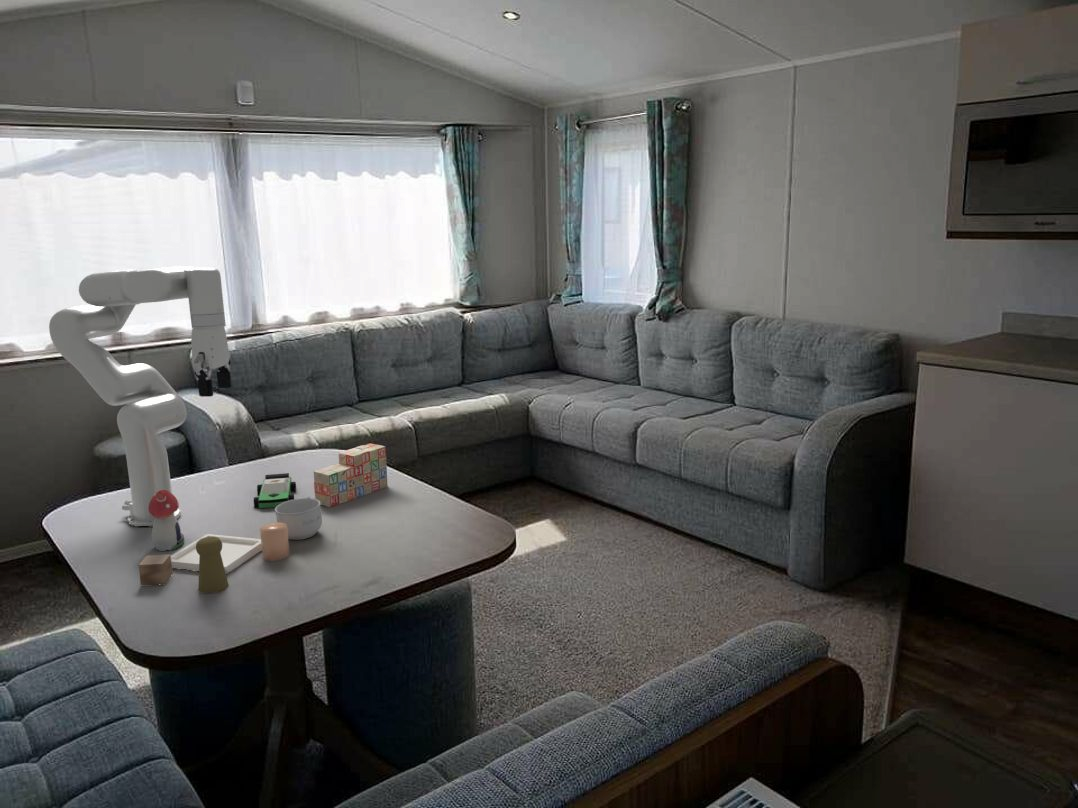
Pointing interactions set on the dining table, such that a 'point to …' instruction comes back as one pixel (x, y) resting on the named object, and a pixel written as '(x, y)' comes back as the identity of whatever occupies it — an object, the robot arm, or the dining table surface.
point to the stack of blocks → (352, 475)
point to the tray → (231, 553)
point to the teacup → (300, 517)
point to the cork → (211, 566)
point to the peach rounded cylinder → (274, 541)
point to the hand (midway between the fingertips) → (215, 391)
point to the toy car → (274, 491)
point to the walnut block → (155, 569)
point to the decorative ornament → (165, 521)
